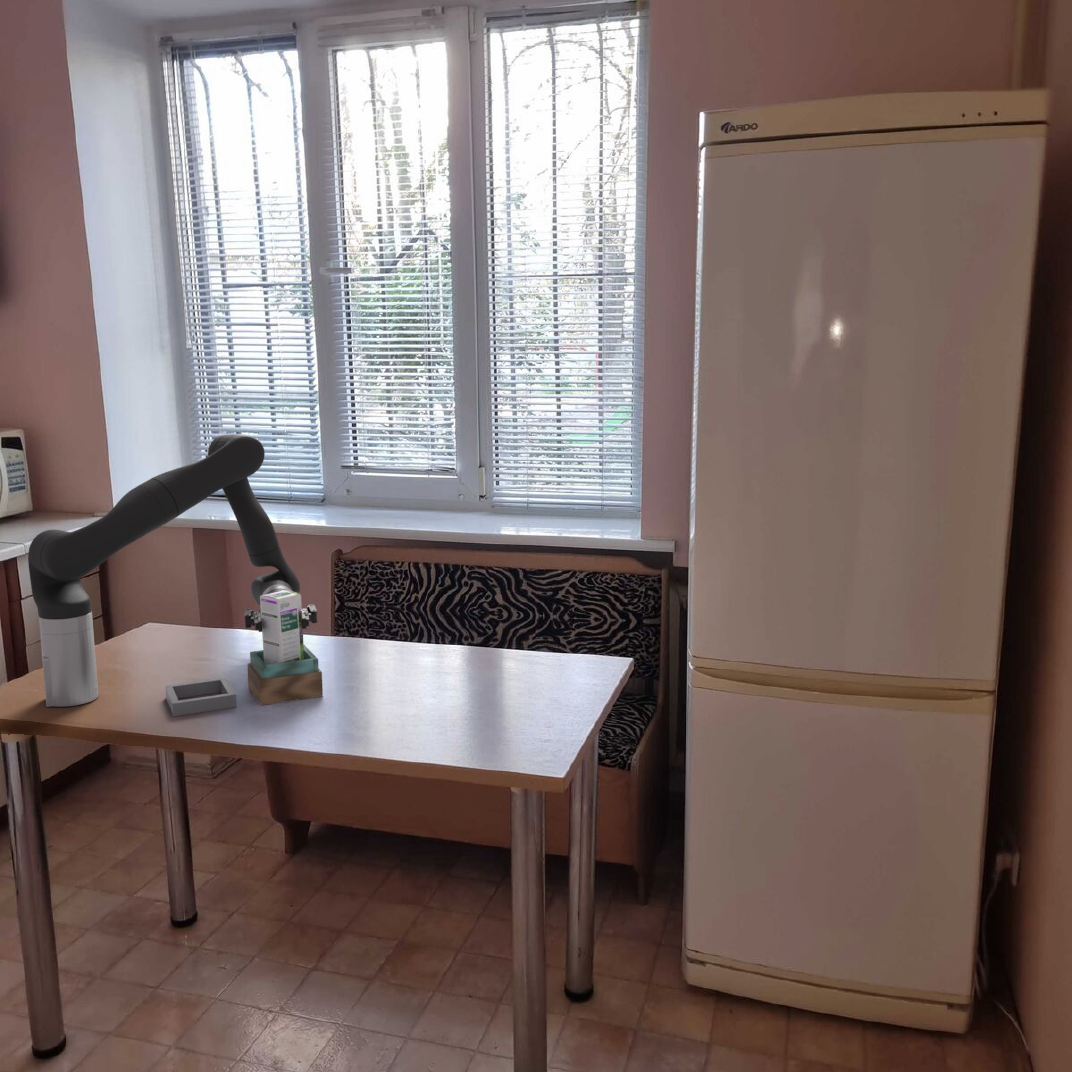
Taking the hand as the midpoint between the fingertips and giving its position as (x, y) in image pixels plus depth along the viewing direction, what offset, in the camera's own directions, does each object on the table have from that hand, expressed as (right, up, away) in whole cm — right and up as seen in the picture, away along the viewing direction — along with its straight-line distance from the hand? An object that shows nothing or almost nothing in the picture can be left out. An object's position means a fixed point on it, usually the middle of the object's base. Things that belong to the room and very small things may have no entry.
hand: (282, 625), depth 188 cm
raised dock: (-1, -14, +4) cm, 14 cm away
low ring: (-15, -15, -2) cm, 21 cm away
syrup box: (-1, -8, +3) cm, 9 cm away
